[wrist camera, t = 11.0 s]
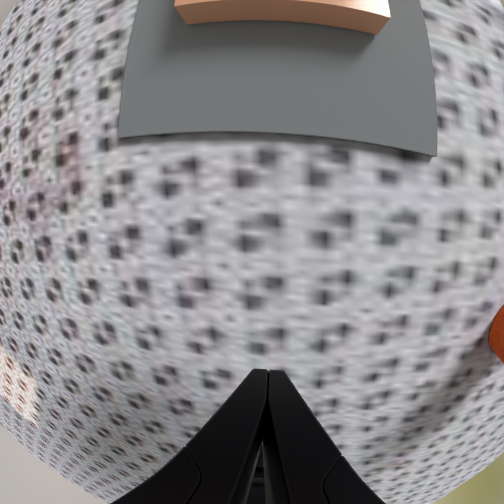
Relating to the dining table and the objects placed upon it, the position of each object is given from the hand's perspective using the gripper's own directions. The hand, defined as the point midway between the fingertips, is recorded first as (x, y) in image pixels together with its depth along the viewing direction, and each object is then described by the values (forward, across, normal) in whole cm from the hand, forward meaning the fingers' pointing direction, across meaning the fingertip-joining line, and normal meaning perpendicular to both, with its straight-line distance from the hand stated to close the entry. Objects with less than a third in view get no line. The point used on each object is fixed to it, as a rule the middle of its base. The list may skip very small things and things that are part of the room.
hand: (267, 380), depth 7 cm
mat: (+12, 0, -20) cm, 23 cm away
